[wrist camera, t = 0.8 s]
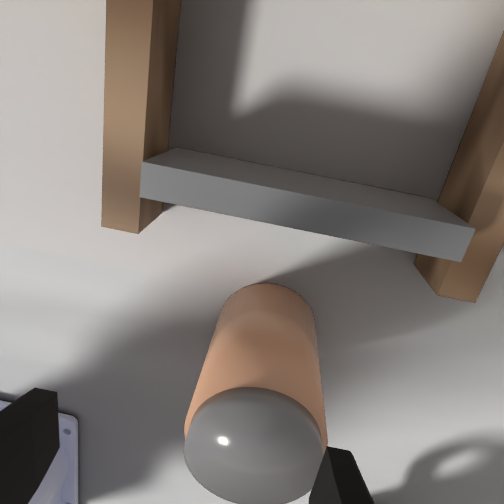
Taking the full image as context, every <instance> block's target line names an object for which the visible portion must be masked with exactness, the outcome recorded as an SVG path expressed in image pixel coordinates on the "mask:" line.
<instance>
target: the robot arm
mask: <svg viewBox="0 0 504 504" xmlns="http://www.w3.org/2000/svg"><path fill="white" fill-rule="evenodd" d="M0 504H78V422H77V419H76V418H75V417H73V416H71V415H66V414H62V413H58V400H57V392H54V391H49V390H44V389H39V388H34V389H32V390H31V391H29V392H28V393H26V394H24V395H23V396H21V397H20V398H18V399H17V400H15V401H14V402H13V403H10V402H6V401H1V400H0ZM309 504H374V501H373V499H372V497H371V495H370V493H369V491H368V488H367V486H366V484H365V482H364V480H363V477H362V475H361V473H360V470H359V468H358V466H357V464H356V461H355V459H354V456H353V455H352V453H351V452H350V451H348V450H343V449H338V448H333V447H328V446H327V447H326V450H325V453H324V456H323V459H322V462H321V465H320V467H319V470H318V473H317V476H316V479H315V482H314V485H313V488H312V491H311V494H310V497H309Z"/></svg>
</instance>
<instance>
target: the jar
mask: <svg viewBox="0 0 504 504" xmlns="http://www.w3.org/2000/svg"><path fill="white" fill-rule="evenodd" d="M184 434H185V444H184V457H185V461H186V464H187V467H188V469H189V471H190V472H191V474H192V475H193V477H194V478H195V479H196V480H197V481H198V482H199V483H200V484H201V485H202V486H203V487H204V488H206V489H207V490H208V491H210V492H211V493H213V494H215V495H216V496H218V497H221V498H223V499H225V500H228V501H230V502H233V503H237V504H285V503H289V502H292V501H294V500H296V499H298V498H300V497H302V496H304V495H305V494H306V493H308V492H309V491H310V490H311V489H312V488H313V485H314V482H315V479H316V476H317V473H318V470H319V467H320V465H321V462H322V459H323V456H324V453H325V450H326V447H327V443H328V438H327V429H326V419H325V410H324V401H323V392H322V383H321V374H320V365H319V356H318V347H317V338H316V329H315V320H314V316H313V313H312V311H311V309H310V307H309V305H308V304H307V303H306V301H305V300H304V299H303V298H302V297H301V296H300V295H298V294H297V293H296V292H294V291H292V290H290V289H289V288H286V287H284V286H280V285H277V284H270V283H261V284H254V285H249V286H247V287H244V288H242V289H240V290H238V291H237V292H235V293H234V294H233V295H231V296H230V297H229V298H228V300H227V301H226V302H225V304H224V305H223V307H222V310H221V312H220V315H219V319H218V322H217V325H216V328H215V331H214V334H213V337H212V340H211V343H210V346H209V349H208V352H207V355H206V358H205V361H204V364H203V368H202V371H201V374H200V377H199V380H198V383H197V386H196V389H195V392H194V395H193V398H192V401H191V404H190V407H189V410H188V413H187V416H186V420H185V425H184Z"/></svg>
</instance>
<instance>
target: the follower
mask: <svg viewBox="0 0 504 504" xmlns="http://www.w3.org/2000/svg"><path fill="white" fill-rule="evenodd" d="M139 197H141V198H146V199H151V200H156V201H161V202H166V203H171V204H176V205H181V206H186V207H191V208H196V209H201V210H205V211H210V212H215V213H220V214H225V215H230V216H235V217H240V218H245V219H250V220H255V221H260V222H265V223H270V224H275V225H279V226H284V227H289V228H294V229H299V230H304V231H309V232H314V233H319V234H324V235H329V236H334V237H339V238H344V239H349V240H353V241H358V242H363V243H368V244H373V245H378V246H383V247H388V248H393V249H398V250H403V251H408V252H413V253H418V254H423V255H427V256H432V257H437V258H442V259H447V260H452V261H457V262H461V261H462V259H463V257H464V254H465V252H466V250H467V248H468V245H469V243H470V241H471V238H472V236H473V234H474V232H475V228H474V227H472V226H471V225H469V224H468V223H467V222H465V221H464V220H462V219H461V218H459V217H458V216H456V215H455V214H454V213H452V212H451V211H449V210H448V209H446V208H445V207H444V206H442V205H441V204H439V203H438V202H436V201H435V200H433V199H432V198H427V197H422V196H417V195H412V194H407V193H402V192H397V191H392V190H387V189H382V188H377V187H372V186H367V185H362V184H357V183H352V182H347V181H342V180H337V179H332V178H327V177H322V176H317V175H312V174H307V173H302V172H297V171H292V170H287V169H282V168H277V167H272V166H267V165H262V164H257V163H252V162H247V161H242V160H237V159H232V158H227V157H222V156H217V155H212V154H207V153H202V152H197V151H192V150H187V149H182V148H177V147H176V148H173V149H171V150H168V151H166V152H164V153H161V154H159V155H157V156H154V157H152V158H149V159H147V160H145V161H142V164H141V180H140V196H139Z"/></svg>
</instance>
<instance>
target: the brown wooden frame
mask: <svg viewBox="0 0 504 504" xmlns="http://www.w3.org/2000/svg"><path fill="white" fill-rule="evenodd" d="M180 6H181V0H106V44H105V88H104V133H103V177H102V222H101V226H102V227H106V228H111V229H116V230H121V231H126V232H131V233H136V234H139V233H140V232H141V231H142V230H143V229H144V228H145V227H147V226H148V225H149V224H150V223H151V222H152V221H153V220H155V219H156V218H157V217H158V216H159V215H160V214H161V213H162V208H163V202H161V201H156V200H151V199H146V198H141V197H139V196H140V180H141V164H142V161H145V160H147V159H149V158H152V157H154V156H157V155H159V154H161V153H164V152H166V151H168V141H169V129H170V118H171V107H172V96H173V84H174V73H175V62H176V51H177V39H178V28H179V17H180ZM438 203H439V204H441V205H442V206H444V207H445V208H446V209H448V210H449V211H451V212H452V213H454V214H455V215H456V216H458V217H459V218H461V219H462V220H464V221H465V222H467V223H468V224H469V225H471V226H472V227H474V228H475V232H474V234H473V236H472V238H471V241H470V243H469V245H468V248H467V250H466V252H465V254H464V257H463V259H462V261H461V262H457V261H452V260H447V259H442V258H437V257H432V256H427V255H423V254H417V256H416V259H415V262H414V265H415V266H416V268H417V269H418V270H419V272H420V273H421V274H422V276H423V277H424V278H425V280H426V281H427V282H428V284H429V285H430V286H431V288H432V289H433V290H434V292H435V293H436V294H437V295H439V296H444V297H449V298H454V299H458V300H463V301H468V302H473V303H475V302H476V300H477V298H478V296H479V294H480V292H481V290H482V288H483V285H484V283H485V281H486V279H487V277H488V275H489V273H490V271H491V269H492V267H493V265H494V263H495V261H496V258H497V256H498V254H499V252H500V250H501V248H502V246H503V244H504V32H503V35H502V37H501V40H500V43H499V45H498V48H497V50H496V53H495V55H494V58H493V61H492V63H491V66H490V68H489V71H488V74H487V76H486V79H485V81H484V84H483V86H482V89H481V92H480V94H479V97H478V99H477V102H476V104H475V107H474V110H473V112H472V115H471V117H470V120H469V122H468V125H467V128H466V130H465V133H464V135H463V138H462V141H461V143H460V146H459V148H458V151H457V153H456V156H455V159H454V161H453V164H452V166H451V169H450V171H449V174H448V177H447V179H446V182H445V184H444V187H443V189H442V192H441V195H440V197H439V200H438Z"/></svg>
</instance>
